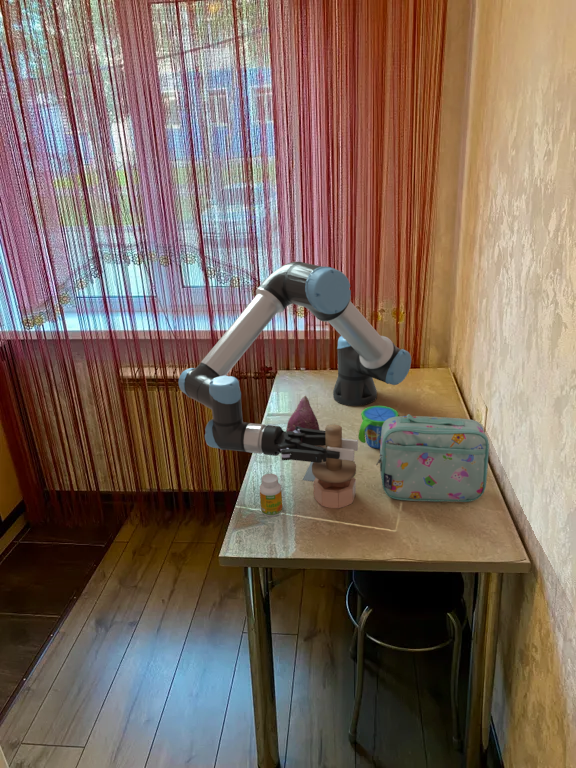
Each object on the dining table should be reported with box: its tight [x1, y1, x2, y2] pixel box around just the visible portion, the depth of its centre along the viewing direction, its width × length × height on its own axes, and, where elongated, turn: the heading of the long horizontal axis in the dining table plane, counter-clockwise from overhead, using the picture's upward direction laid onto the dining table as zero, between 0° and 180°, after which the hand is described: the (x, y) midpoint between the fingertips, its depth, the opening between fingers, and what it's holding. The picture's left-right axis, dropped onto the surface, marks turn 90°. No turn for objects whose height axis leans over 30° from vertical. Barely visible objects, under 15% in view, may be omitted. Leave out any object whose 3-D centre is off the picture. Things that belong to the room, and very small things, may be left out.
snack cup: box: [358, 405, 400, 450], centre depth 164 cm, size 16×10×10 cm
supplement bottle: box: [259, 472, 284, 518], centre depth 137 cm, size 5×5×10 cm
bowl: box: [313, 476, 357, 509], centre depth 142 cm, size 10×10×5 cm
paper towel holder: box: [312, 423, 357, 483], centre depth 137 cm, size 11×11×12 cm
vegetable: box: [285, 395, 320, 440], centre depth 170 cm, size 10×10×15 cm
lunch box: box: [376, 413, 490, 503], centre depth 138 cm, size 27×10×21 cm, turn 82°
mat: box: [302, 462, 316, 483], centre depth 153 cm, size 12×12×1 cm
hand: (355, 450), depth 135 cm, fingers closed on paper towel holder, 4 cm apart
